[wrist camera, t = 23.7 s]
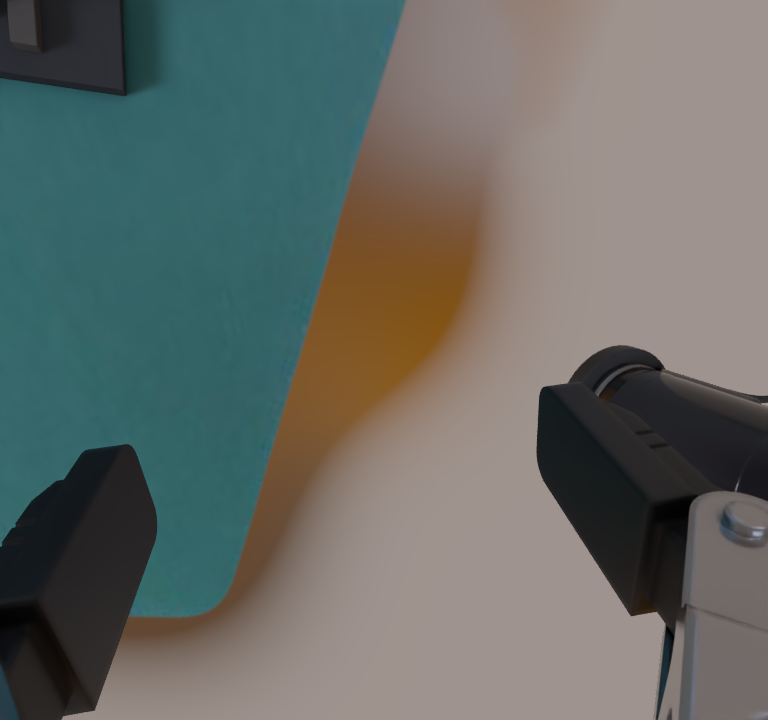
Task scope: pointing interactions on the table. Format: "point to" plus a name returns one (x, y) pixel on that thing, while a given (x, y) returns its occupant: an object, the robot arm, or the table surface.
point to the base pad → (64, 43)
